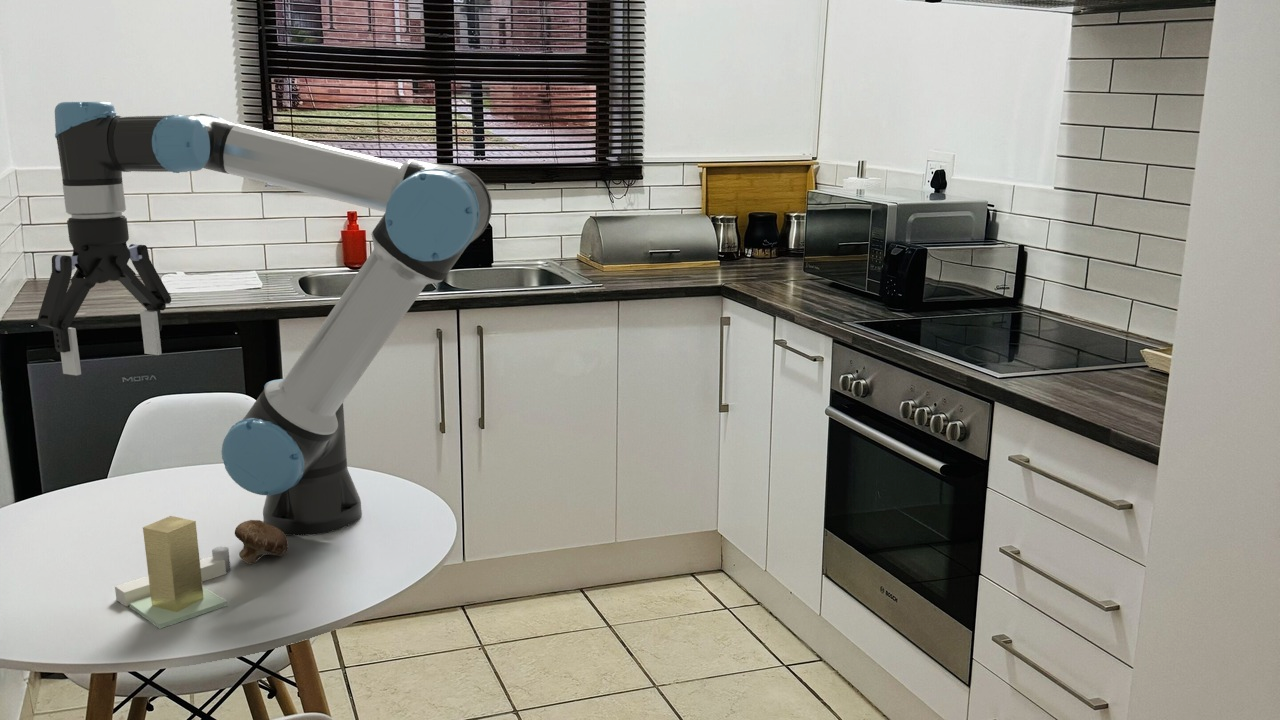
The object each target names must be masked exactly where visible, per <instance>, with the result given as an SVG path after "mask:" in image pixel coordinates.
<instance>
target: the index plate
mask: <svg viewBox="0 0 1280 720" xmlns="http://www.w3.org/2000/svg"><path fill="white" fill-rule="evenodd" d="M202 587H203V597H204V598H203V599H202V600H200V601H198V602H196V603H194V604H192V605H190V606H188V607H186V608H184V609H182V610H180V611H178V612H174V611H170V610H166V609H162V608H159V607H155V606H152V602H151V596H150V597H147V598H144V599H141V600H138V601H135V602H132V603H130V605H129V608H130V609H132V610H133V611H135V612H136V613H137V614H138V615H140V616H141V617H143V618H144V619H145V620H147V621H148V622H150V623H151V624H153V626H155V627H156V628H157V629H163V628H165V627H169V626H172V625H174V624H179V623H181V622H183V621H186V620H189V619H191V618H196V617H198V616H200V615H203V614H206V613H209V612H213V611H215V610H218V609H220V608H224V607H227V606H228V601H227V600H226V599H224V598H223V597H221V596H219V595H218V594H216V593H214V592H212V591H211V590H210V589H208V588H206V587H205V586H203V585H202Z"/></svg>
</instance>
